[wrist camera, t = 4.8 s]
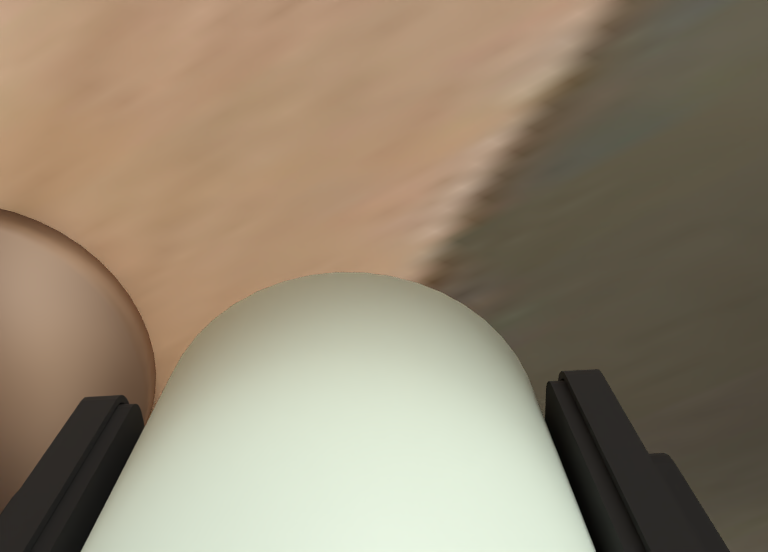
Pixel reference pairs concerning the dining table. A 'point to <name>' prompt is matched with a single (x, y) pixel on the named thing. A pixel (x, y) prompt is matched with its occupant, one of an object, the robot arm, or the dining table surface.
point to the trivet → (60, 342)
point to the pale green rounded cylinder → (344, 434)
